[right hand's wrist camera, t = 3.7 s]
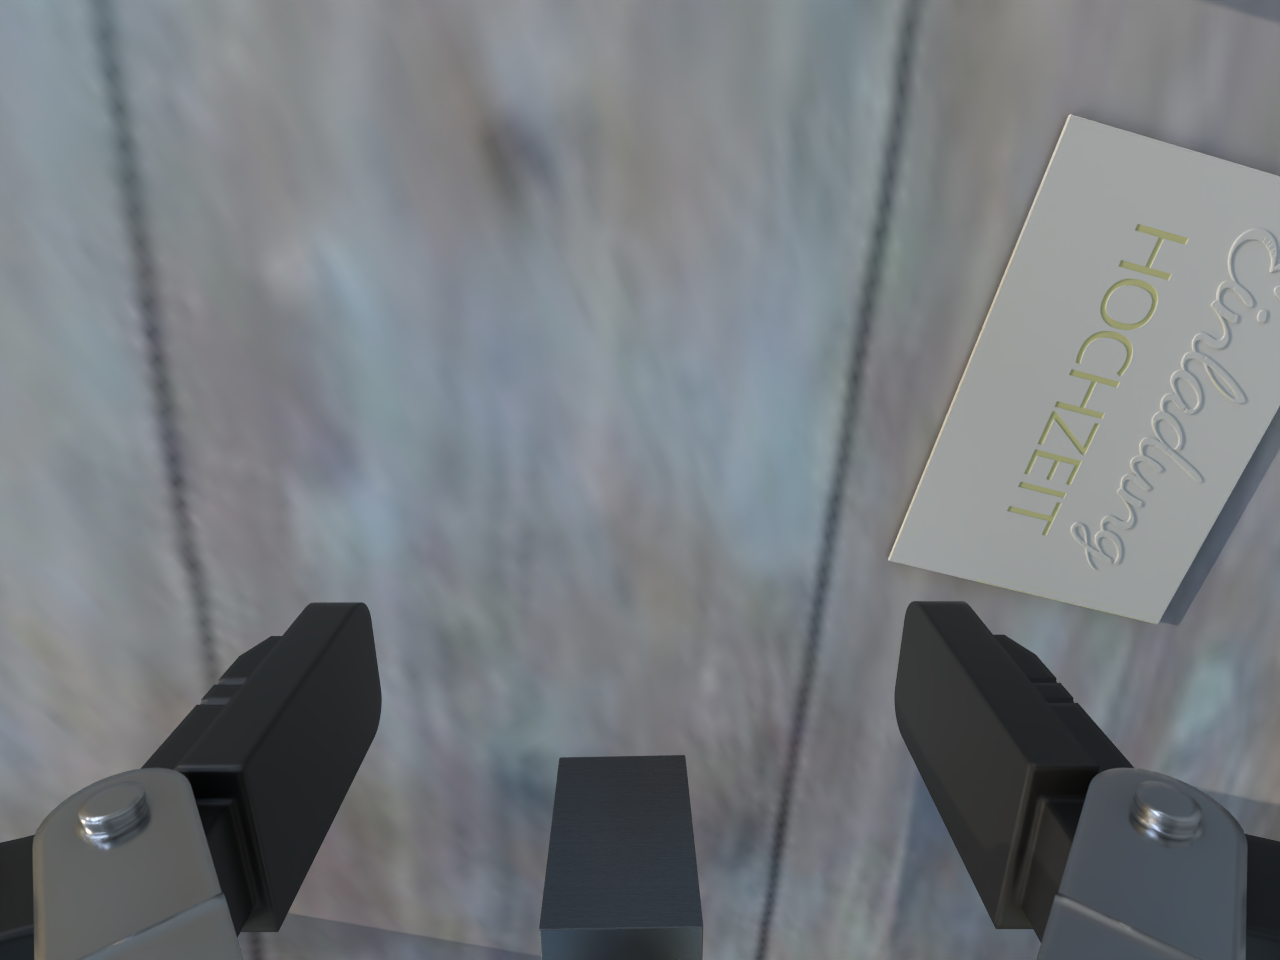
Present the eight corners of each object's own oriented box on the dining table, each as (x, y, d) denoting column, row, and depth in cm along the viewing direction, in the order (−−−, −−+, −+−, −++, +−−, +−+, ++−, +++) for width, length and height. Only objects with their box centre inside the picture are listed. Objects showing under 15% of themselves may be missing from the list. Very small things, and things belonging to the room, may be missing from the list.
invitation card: (1072, 114, 32) (1391, 209, 33) (1068, 114, 32) (1385, 208, 33) (889, 561, 39) (1158, 625, 40) (888, 559, 39) (1155, 622, 40)
